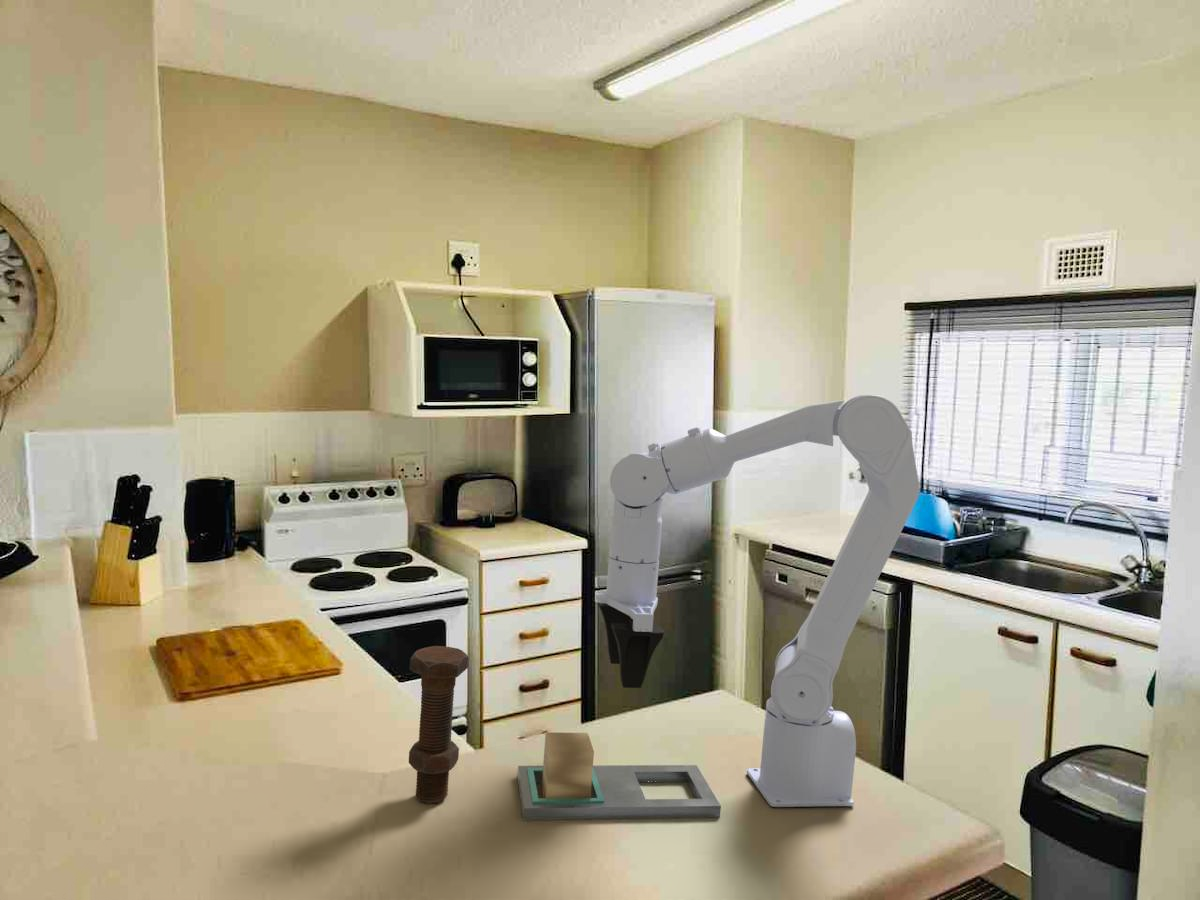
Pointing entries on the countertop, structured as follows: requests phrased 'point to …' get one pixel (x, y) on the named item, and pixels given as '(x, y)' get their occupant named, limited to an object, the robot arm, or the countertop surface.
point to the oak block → (567, 765)
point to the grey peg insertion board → (620, 794)
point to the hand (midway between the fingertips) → (625, 674)
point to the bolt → (436, 719)
